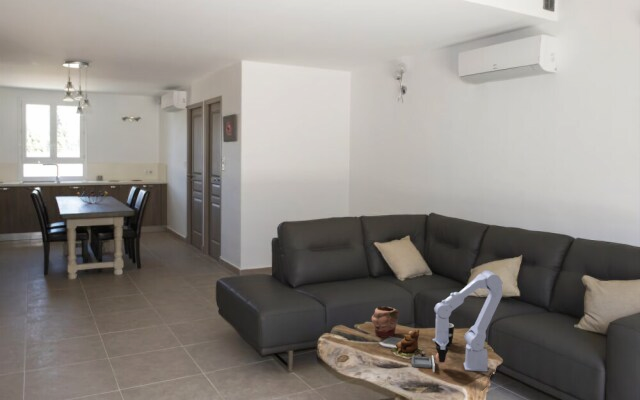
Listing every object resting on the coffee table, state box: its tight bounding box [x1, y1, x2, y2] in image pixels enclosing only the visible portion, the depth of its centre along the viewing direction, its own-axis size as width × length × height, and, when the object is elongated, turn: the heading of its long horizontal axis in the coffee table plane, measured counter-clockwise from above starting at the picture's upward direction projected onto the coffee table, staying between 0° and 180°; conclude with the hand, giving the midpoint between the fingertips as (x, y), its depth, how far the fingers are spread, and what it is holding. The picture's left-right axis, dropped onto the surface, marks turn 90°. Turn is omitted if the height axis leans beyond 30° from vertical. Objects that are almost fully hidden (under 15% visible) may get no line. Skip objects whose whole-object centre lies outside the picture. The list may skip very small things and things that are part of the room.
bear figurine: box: [389, 329, 426, 360], centre depth 260 cm, size 14×15×12 cm
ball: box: [435, 352, 448, 364], centre depth 242 cm, size 5×5×5 cm
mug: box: [446, 322, 455, 347], centre depth 273 cm, size 12×9×10 cm
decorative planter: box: [371, 306, 400, 338], centre depth 287 cm, size 20×12×14 cm, turn 139°
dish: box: [411, 356, 432, 369], centre depth 248 cm, size 9×9×2 cm
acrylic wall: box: [431, 354, 436, 373], centre depth 244 cm, size 1×12×3 cm, turn 172°
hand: (441, 359), depth 242 cm, fingers closed on ball, 5 cm apart
